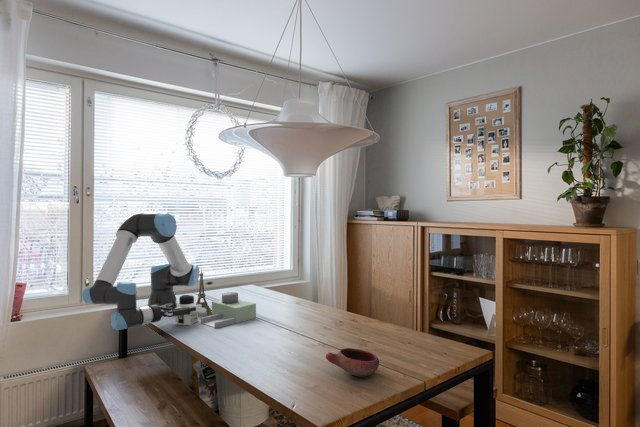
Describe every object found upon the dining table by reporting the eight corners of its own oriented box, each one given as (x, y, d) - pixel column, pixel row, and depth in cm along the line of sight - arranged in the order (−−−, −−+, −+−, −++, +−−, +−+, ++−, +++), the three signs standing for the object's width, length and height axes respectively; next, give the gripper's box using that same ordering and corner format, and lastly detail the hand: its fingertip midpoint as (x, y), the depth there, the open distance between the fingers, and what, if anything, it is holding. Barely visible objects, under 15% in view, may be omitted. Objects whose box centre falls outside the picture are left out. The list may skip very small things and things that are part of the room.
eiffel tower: (213, 315, 209) (212, 266, 208) (191, 317, 205) (191, 267, 205) (211, 310, 219) (210, 263, 218) (190, 312, 215) (190, 264, 215)
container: (190, 325, 191) (189, 297, 191) (175, 324, 192) (174, 296, 192) (198, 320, 198) (198, 294, 198) (183, 320, 200) (183, 293, 200)
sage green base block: (192, 320, 200) (192, 297, 199) (231, 311, 217) (231, 290, 216) (216, 328, 186) (215, 304, 186) (256, 317, 203) (256, 295, 203)
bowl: (357, 363, 143) (357, 341, 143) (386, 375, 134) (386, 350, 133) (323, 377, 132) (323, 352, 132) (352, 390, 123) (352, 363, 123)
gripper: (138, 318, 190) (182, 309, 206) (162, 328, 174) (208, 317, 191) (138, 302, 190) (182, 294, 206) (161, 310, 174) (207, 301, 191)
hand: (194, 305), depth 198 cm, fingers closed on container, 10 cm apart
